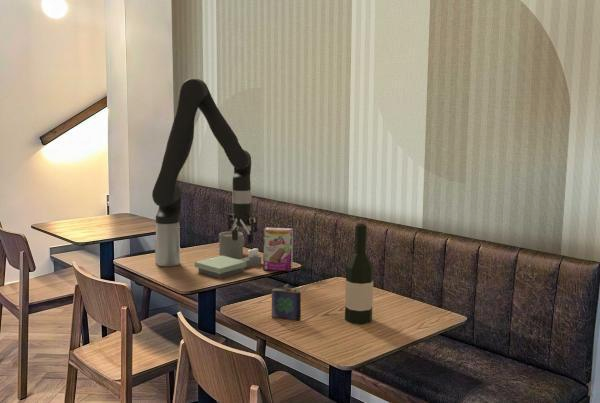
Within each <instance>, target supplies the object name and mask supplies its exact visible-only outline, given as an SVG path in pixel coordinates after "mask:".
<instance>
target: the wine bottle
mask: <svg viewBox="0 0 600 403" xmlns="http://www.w3.org/2000/svg"><path fill="white" fill-rule="evenodd" d="M354 229H355V232H354V233H355V236H354V238H355V239H354V253H353V255H352V257H351V258H350V259H349V262H348V263H347V265H346V266H345V268H346V270H345V296H344V297H345V301H344V302H345V303H344V305H345V306H344V310H345V311H344V320H345V321H346V322H347V323H349V324H352V325H353V324H354V325H366V324H370V323H371V322H372V320H373V306H374V305H373V302H374V272H375V270H374V267H375V265H374V264H373V263H372V261H371V259H370V257H369V256H368V254H367V235H368V233H367V232H368V225H366V222H365V221H364V222H363V221H362V222H361V221H360V222H359V221H357V222H356V224H355V228H354Z"/></svg>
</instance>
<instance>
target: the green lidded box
mask: <svg viewBox="0 0 600 403" xmlns="http://www.w3.org/2000/svg"><path fill="white" fill-rule="evenodd" d="M194 267H195V268H197V269H198V273H200V274H204V275H208V276H210V277H215V278H219V279H221V278H225V277H228V276H231V275H232V276H233V275H235V274H239V273H243V272H244V270H243V267H246V261H242V260H238V259H234V258H230V257H226V256H219V255H218V256H215V257H211V258H206V259H205V258H204V259H201V260H198V261H197V260H196V261H195V262H194Z"/></svg>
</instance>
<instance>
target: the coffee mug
mask: <svg viewBox="0 0 600 403" xmlns="http://www.w3.org/2000/svg"><path fill="white" fill-rule="evenodd" d="M218 237H219V240H218V241H219V245H218V246H219V252H218V253H219V254H218V256H226V257H230V258H234V259H242V258H244V247H245V237H244V234H243V232H240V231H238V240H235V241H234V240H233V239H232V231H231V230H230V231H222V232H220V233H219V234H218Z"/></svg>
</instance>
